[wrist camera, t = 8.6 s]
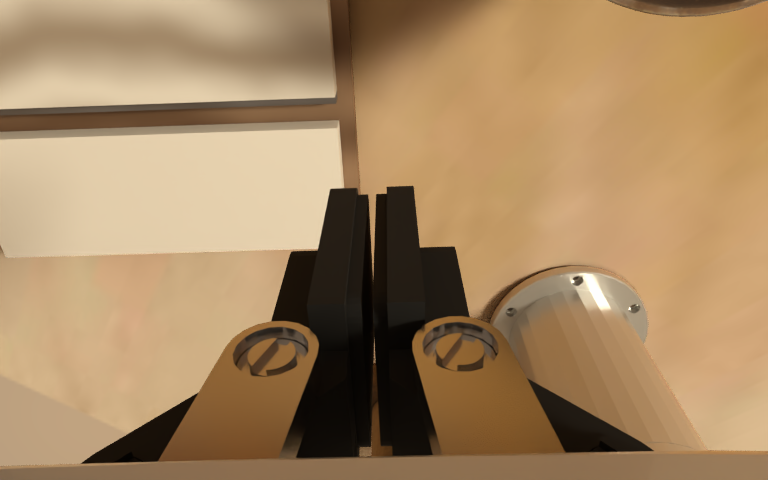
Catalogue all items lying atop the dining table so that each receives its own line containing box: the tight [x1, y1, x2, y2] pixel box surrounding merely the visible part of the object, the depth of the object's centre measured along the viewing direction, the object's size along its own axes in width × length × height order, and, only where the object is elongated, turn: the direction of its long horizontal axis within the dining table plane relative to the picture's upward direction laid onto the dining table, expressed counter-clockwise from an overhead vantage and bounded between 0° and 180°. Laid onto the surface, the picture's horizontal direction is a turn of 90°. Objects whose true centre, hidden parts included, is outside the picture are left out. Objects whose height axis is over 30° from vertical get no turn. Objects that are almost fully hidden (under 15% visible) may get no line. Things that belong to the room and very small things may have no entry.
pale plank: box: [0, 120, 344, 258], centre depth 39 cm, size 9×24×2 cm, turn 92°
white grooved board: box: [0, 0, 360, 195], centre depth 37 cm, size 17×26×3 cm, turn 92°
